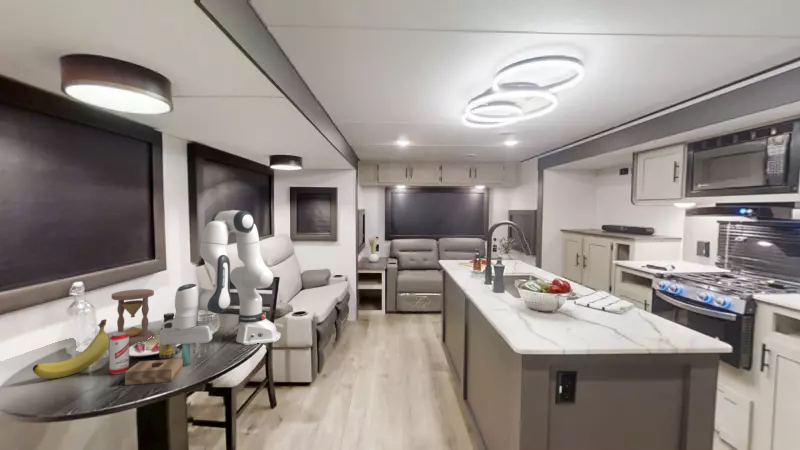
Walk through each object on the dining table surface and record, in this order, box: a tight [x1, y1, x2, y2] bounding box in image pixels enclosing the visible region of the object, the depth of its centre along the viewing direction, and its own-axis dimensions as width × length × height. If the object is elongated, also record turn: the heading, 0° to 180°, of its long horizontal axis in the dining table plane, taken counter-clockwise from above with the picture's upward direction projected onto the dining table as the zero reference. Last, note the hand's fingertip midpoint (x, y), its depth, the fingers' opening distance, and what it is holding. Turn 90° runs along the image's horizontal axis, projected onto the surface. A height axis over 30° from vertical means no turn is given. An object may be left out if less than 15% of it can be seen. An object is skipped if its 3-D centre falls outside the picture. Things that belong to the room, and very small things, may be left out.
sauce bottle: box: [158, 312, 176, 360], centre depth 155 cm, size 7×6×20 cm
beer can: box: [108, 331, 130, 375], centre depth 139 cm, size 6×6×16 cm
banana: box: [32, 318, 110, 379], centre depth 136 cm, size 23×6×20 cm, turn 147°
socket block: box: [124, 358, 184, 386], centre depth 134 cm, size 16×10×5 cm, turn 102°
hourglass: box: [111, 288, 155, 346], centre depth 176 cm, size 18×18×25 cm
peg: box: [181, 343, 191, 367], centre depth 147 cm, size 3×3×10 cm
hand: (186, 353), depth 147 cm, fingers open, 6 cm apart
